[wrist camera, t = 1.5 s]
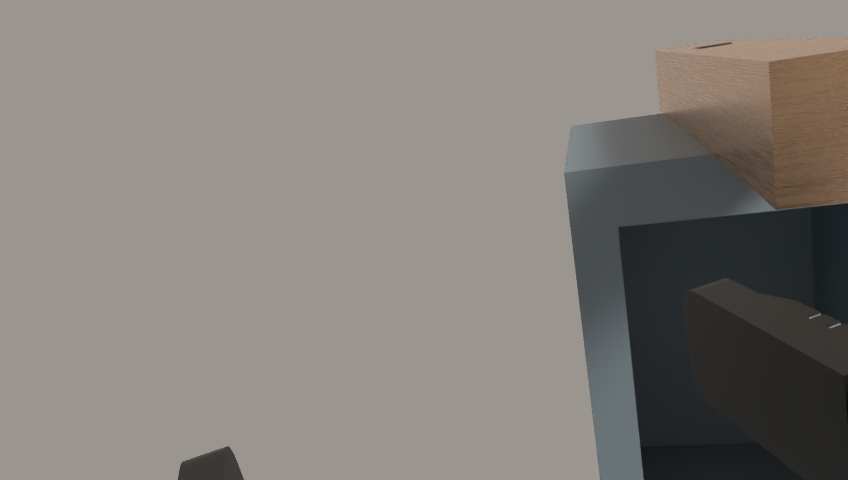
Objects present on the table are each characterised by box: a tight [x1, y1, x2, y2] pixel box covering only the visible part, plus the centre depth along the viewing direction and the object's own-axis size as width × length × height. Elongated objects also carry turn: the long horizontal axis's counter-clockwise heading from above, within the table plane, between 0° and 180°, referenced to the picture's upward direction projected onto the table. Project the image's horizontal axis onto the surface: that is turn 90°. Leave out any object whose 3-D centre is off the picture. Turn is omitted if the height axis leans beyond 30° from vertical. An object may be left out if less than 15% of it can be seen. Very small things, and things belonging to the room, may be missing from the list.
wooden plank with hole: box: [655, 38, 848, 210], centre depth 26 cm, size 24×3×3 cm, turn 168°
